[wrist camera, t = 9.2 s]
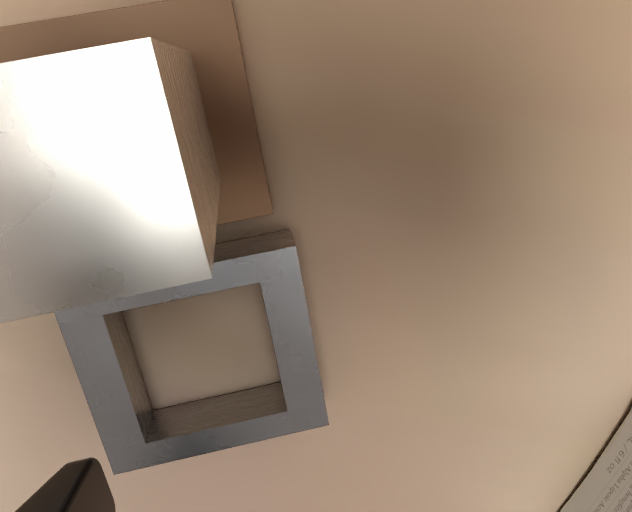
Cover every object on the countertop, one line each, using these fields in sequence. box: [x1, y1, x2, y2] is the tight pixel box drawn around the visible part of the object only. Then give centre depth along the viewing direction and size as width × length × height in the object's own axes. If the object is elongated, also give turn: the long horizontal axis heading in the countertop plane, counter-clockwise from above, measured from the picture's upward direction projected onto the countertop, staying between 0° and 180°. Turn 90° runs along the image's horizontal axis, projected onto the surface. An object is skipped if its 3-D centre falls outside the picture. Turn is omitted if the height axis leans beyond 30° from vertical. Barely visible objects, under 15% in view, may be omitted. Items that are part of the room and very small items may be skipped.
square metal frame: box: [54, 229, 329, 475], centre depth 20 cm, size 7×8×2 cm
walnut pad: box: [0, 0, 273, 225], centre depth 17 cm, size 7×7×1 cm
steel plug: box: [0, 37, 221, 323], centre depth 13 cm, size 4×4×9 cm
